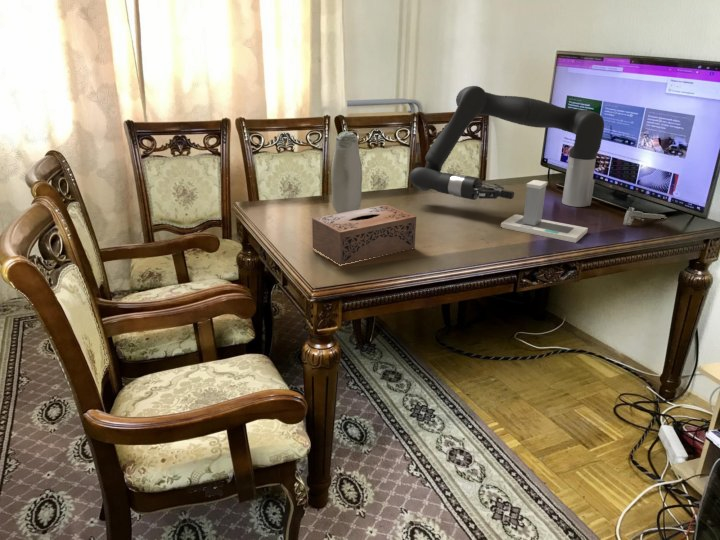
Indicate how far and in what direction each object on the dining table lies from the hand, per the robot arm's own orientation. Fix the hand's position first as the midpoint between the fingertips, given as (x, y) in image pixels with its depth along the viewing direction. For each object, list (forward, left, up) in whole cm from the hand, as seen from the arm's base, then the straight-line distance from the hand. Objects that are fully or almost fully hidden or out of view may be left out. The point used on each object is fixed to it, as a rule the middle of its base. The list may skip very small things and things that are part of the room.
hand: (513, 195), depth 189 cm
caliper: (-47, 0, -10) cm, 48 cm away
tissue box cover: (+50, +22, -10) cm, 56 cm away
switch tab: (-6, +5, -8) cm, 10 cm away
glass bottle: (+53, -12, -10) cm, 56 cm away
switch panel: (-9, +7, -9) cm, 15 cm away
